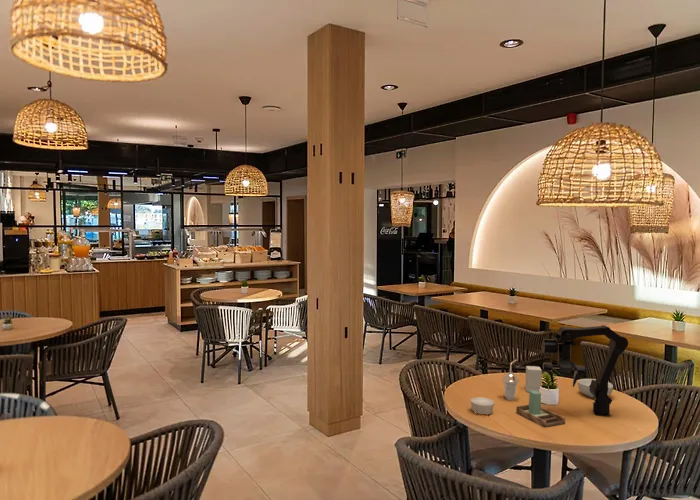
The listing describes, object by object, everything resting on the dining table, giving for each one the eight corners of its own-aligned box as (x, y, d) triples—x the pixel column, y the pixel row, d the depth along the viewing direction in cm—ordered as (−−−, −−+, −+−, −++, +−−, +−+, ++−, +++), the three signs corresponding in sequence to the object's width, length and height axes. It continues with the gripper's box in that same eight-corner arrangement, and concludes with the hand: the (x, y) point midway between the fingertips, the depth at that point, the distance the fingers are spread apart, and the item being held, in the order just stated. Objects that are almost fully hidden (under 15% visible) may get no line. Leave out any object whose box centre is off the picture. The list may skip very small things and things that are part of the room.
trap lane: (565, 423, 236) (565, 416, 236) (544, 427, 232) (545, 420, 231) (535, 409, 253) (536, 403, 253) (516, 413, 249) (516, 406, 248)
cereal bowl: (619, 397, 273) (619, 384, 272) (601, 403, 263) (602, 390, 263) (588, 388, 287) (589, 376, 286) (570, 394, 277) (571, 381, 277)
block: (535, 410, 248) (536, 390, 248) (540, 414, 244) (540, 393, 243) (528, 411, 248) (529, 390, 247) (533, 414, 243) (533, 393, 243)
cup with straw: (497, 396, 271) (499, 359, 270) (513, 395, 274) (514, 358, 272) (507, 402, 263) (508, 363, 262) (522, 401, 265) (523, 362, 264)
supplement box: (541, 393, 278) (542, 370, 277) (526, 392, 279) (527, 369, 278) (539, 389, 285) (540, 366, 284) (525, 388, 286) (525, 365, 286)
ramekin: (474, 405, 258) (474, 395, 257) (496, 410, 252) (497, 399, 252) (467, 413, 248) (467, 402, 248) (490, 417, 242) (490, 406, 242)
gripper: (544, 356, 244) (543, 388, 245) (588, 359, 239) (586, 393, 240) (543, 350, 255) (542, 381, 256) (584, 353, 249) (583, 385, 250)
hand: (563, 385), depth 250 cm, fingers open, 9 cm apart
